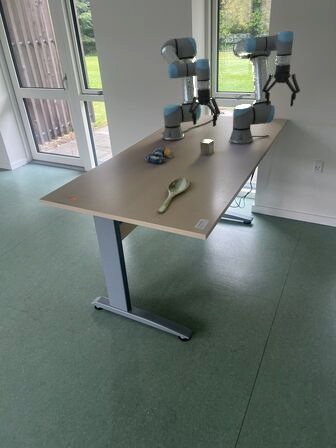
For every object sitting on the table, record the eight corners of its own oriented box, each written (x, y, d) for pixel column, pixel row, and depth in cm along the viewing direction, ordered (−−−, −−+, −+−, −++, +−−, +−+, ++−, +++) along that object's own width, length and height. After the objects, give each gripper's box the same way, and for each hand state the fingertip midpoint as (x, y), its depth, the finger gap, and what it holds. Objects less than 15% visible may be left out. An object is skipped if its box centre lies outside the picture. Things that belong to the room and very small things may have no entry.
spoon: (171, 216, 152) (170, 213, 151) (149, 214, 155) (149, 210, 154) (193, 181, 178) (193, 177, 177) (174, 179, 182) (174, 176, 180)
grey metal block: (200, 154, 214) (200, 142, 210) (205, 151, 219) (204, 139, 214) (209, 155, 211) (209, 143, 207) (213, 152, 216) (213, 140, 211)
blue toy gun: (178, 153, 218) (158, 152, 224) (177, 147, 215) (157, 146, 222) (164, 166, 202) (142, 164, 209) (163, 159, 200) (141, 157, 206)
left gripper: (182, 89, 198) (184, 125, 209) (220, 90, 186) (220, 128, 197) (188, 86, 204) (190, 122, 214) (226, 87, 191) (225, 125, 202)
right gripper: (258, 65, 182) (255, 105, 193) (305, 64, 170) (300, 107, 181) (262, 63, 187) (260, 102, 198) (309, 62, 175) (303, 104, 186)
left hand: (204, 125), depth 206 cm, fingers open, 13 cm apart
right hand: (279, 105), depth 190 cm, fingers open, 13 cm apart
